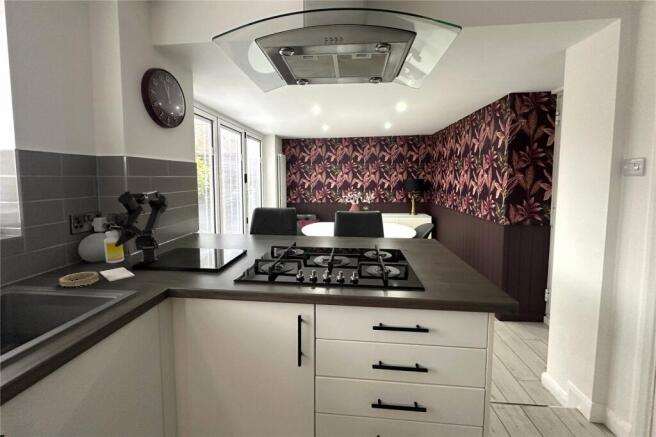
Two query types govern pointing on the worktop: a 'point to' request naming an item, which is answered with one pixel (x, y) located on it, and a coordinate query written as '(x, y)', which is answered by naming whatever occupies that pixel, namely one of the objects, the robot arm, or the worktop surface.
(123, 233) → the robot arm
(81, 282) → the ring holder
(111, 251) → the supplement bottle
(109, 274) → the pad
